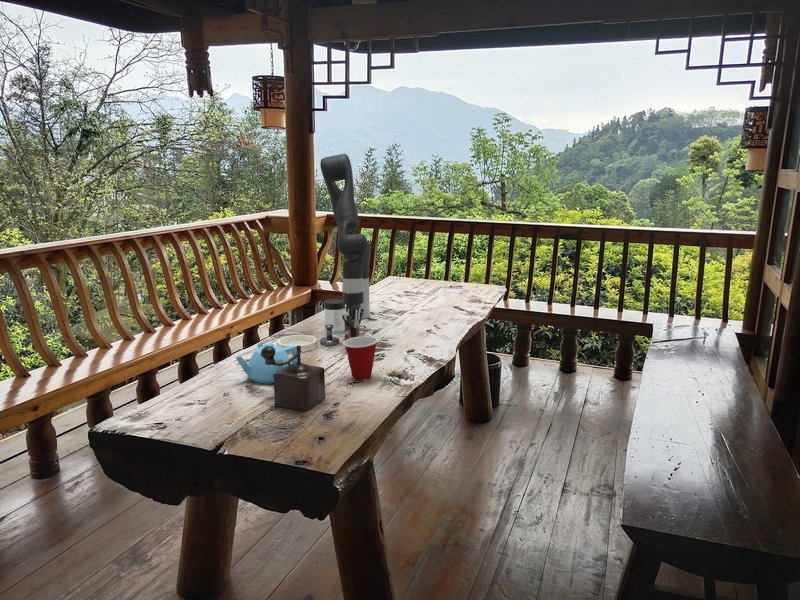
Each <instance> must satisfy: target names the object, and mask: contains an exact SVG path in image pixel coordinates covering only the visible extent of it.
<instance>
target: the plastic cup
mask: <svg viewBox="0 0 800 600" xmlns="http://www.w3.org/2000/svg"><path fill="white" fill-rule="evenodd" d="M378 341H379V338H377V337H375V336H366V335H365V336H360V337H354V338H350V339H347V340H345V339H344V341H342V346H343V347H344V348H345V351H346V354H347V359H348V364H349V365H348V366H349V368H350V372H351V373H350V374H351V377H352V379H354V380H356V381H367V380H369V379H371V378H372V373H373V369H374V368H373V367H374V363H375V362H374V361H375V354H376V349H377V344H378Z"/></svg>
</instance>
